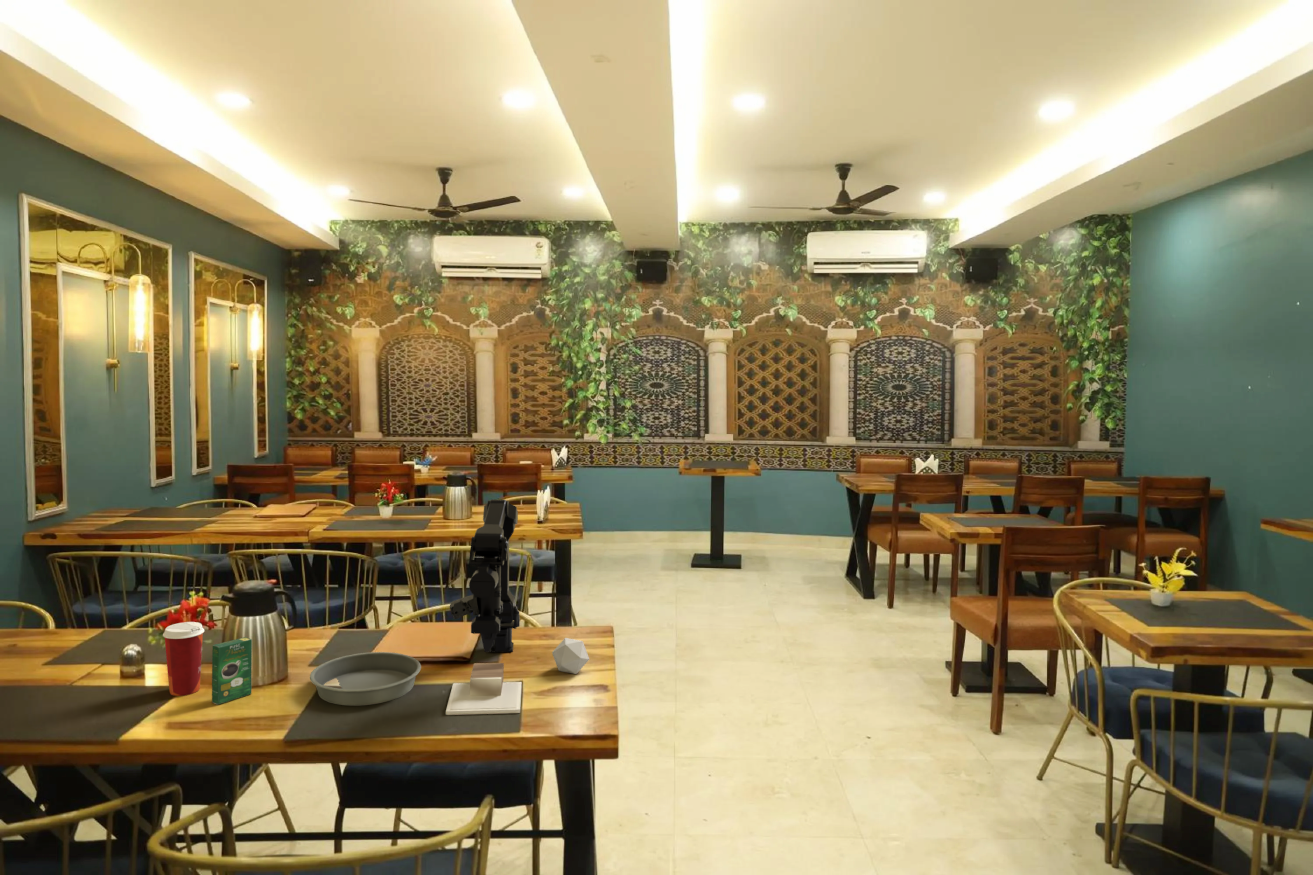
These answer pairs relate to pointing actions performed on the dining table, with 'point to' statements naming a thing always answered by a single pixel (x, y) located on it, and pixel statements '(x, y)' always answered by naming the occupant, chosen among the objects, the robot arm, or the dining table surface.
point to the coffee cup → (184, 657)
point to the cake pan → (366, 678)
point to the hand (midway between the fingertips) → (487, 651)
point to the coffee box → (231, 670)
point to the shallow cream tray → (484, 700)
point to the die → (570, 655)
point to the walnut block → (486, 679)
